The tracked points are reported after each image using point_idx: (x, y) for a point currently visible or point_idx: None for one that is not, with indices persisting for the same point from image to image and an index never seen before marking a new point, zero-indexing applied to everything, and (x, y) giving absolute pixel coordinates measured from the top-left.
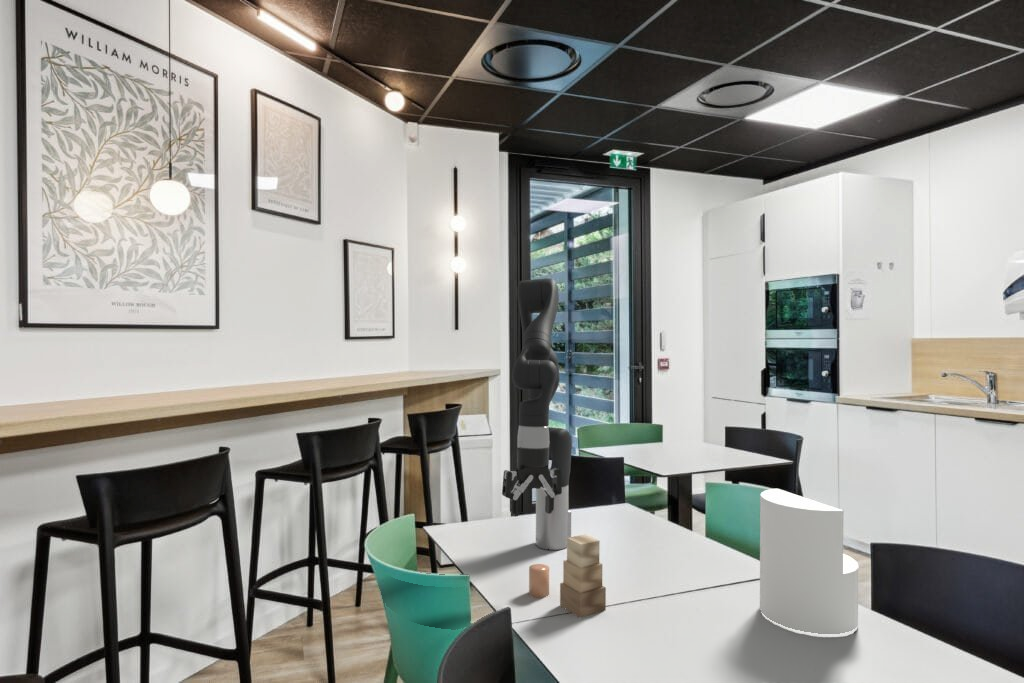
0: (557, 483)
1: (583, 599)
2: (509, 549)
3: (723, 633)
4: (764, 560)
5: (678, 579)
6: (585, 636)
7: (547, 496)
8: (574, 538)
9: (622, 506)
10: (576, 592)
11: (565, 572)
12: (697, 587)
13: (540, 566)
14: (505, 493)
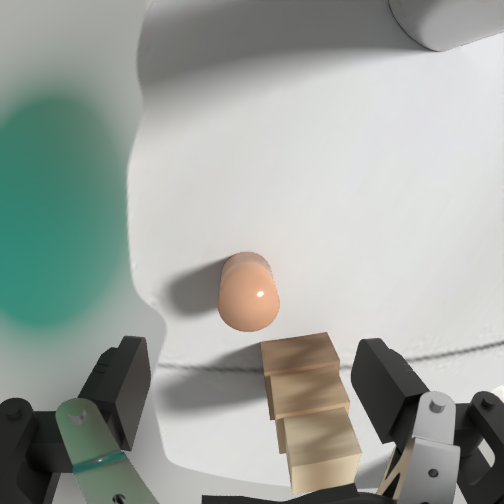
0: (469, 497)
1: None
2: None
3: (395, 445)
4: None
5: (497, 307)
6: (239, 429)
7: (402, 417)
8: (308, 471)
9: None
10: (269, 413)
11: (273, 400)
12: (488, 341)
13: (257, 298)
14: (23, 463)
